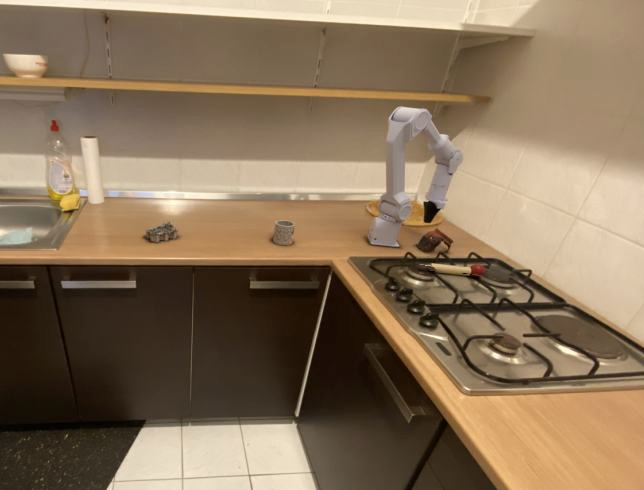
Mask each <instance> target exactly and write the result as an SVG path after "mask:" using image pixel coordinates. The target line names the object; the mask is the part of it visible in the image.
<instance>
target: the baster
mask: <svg viewBox="0 0 644 490" xmlns="http://www.w3.org/2000/svg"><path fill="white" fill-rule="evenodd" d="M419 265H422V264H419ZM424 265H425V266H431V267H434V268H435V269H436V270H437V271H435V272H434V273H437V274H448V275H456V276H464V277H465V276H467V277H469V276H471V277H473V278H481V276H475V275H472V274H478V275H481V274H483V275H484V274H485V272H486V269H485V266H483V265H482V264H480V263H474V264H472V265H470V266H460V265H451V264H441V263H432V262H431V263H429V264H424ZM462 273H469V274H462Z"/></svg>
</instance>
